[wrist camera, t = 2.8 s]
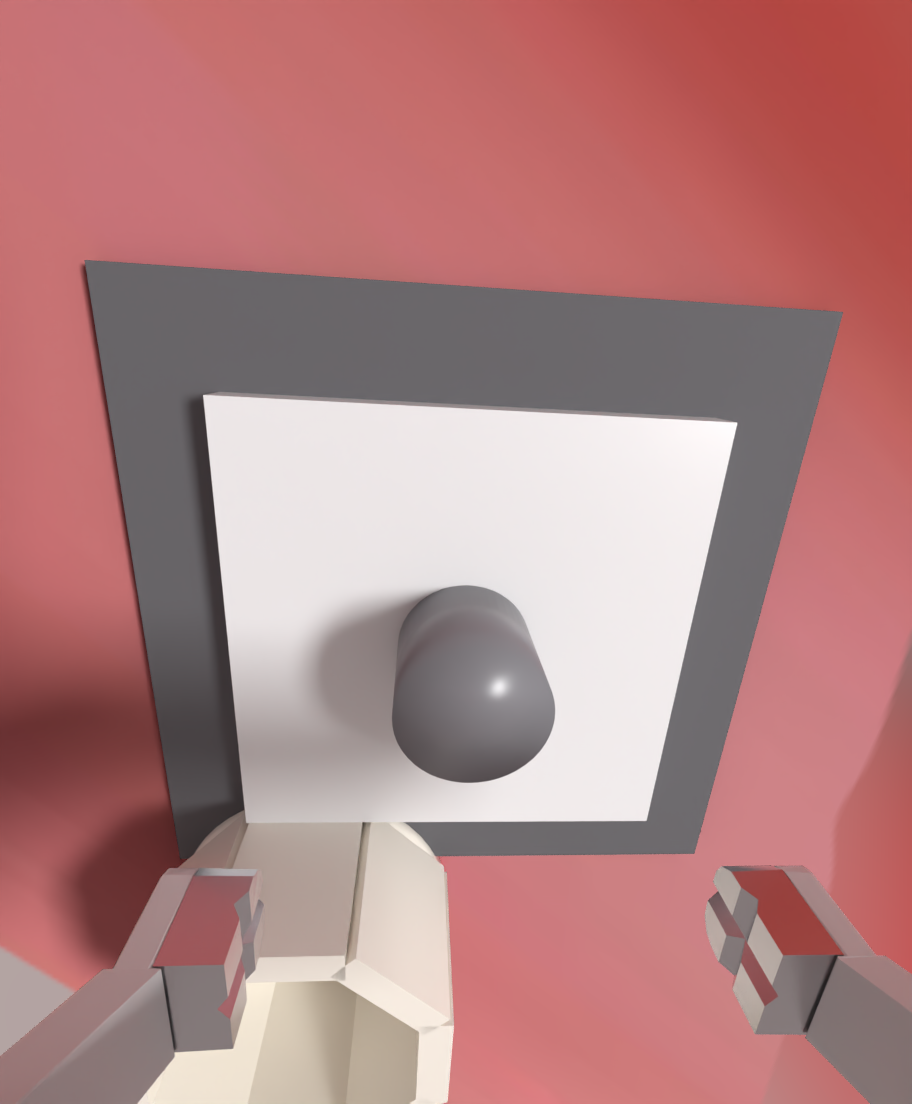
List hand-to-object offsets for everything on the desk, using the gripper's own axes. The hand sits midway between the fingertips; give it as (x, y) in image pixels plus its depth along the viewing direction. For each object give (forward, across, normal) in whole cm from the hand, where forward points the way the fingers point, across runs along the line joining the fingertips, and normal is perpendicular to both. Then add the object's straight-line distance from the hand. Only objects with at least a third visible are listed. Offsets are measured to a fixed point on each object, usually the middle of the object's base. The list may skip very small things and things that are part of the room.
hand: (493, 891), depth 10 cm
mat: (+9, 0, -1) cm, 9 cm away
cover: (+9, 0, -1) cm, 9 cm away
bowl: (+9, +5, +11) cm, 15 cm away
